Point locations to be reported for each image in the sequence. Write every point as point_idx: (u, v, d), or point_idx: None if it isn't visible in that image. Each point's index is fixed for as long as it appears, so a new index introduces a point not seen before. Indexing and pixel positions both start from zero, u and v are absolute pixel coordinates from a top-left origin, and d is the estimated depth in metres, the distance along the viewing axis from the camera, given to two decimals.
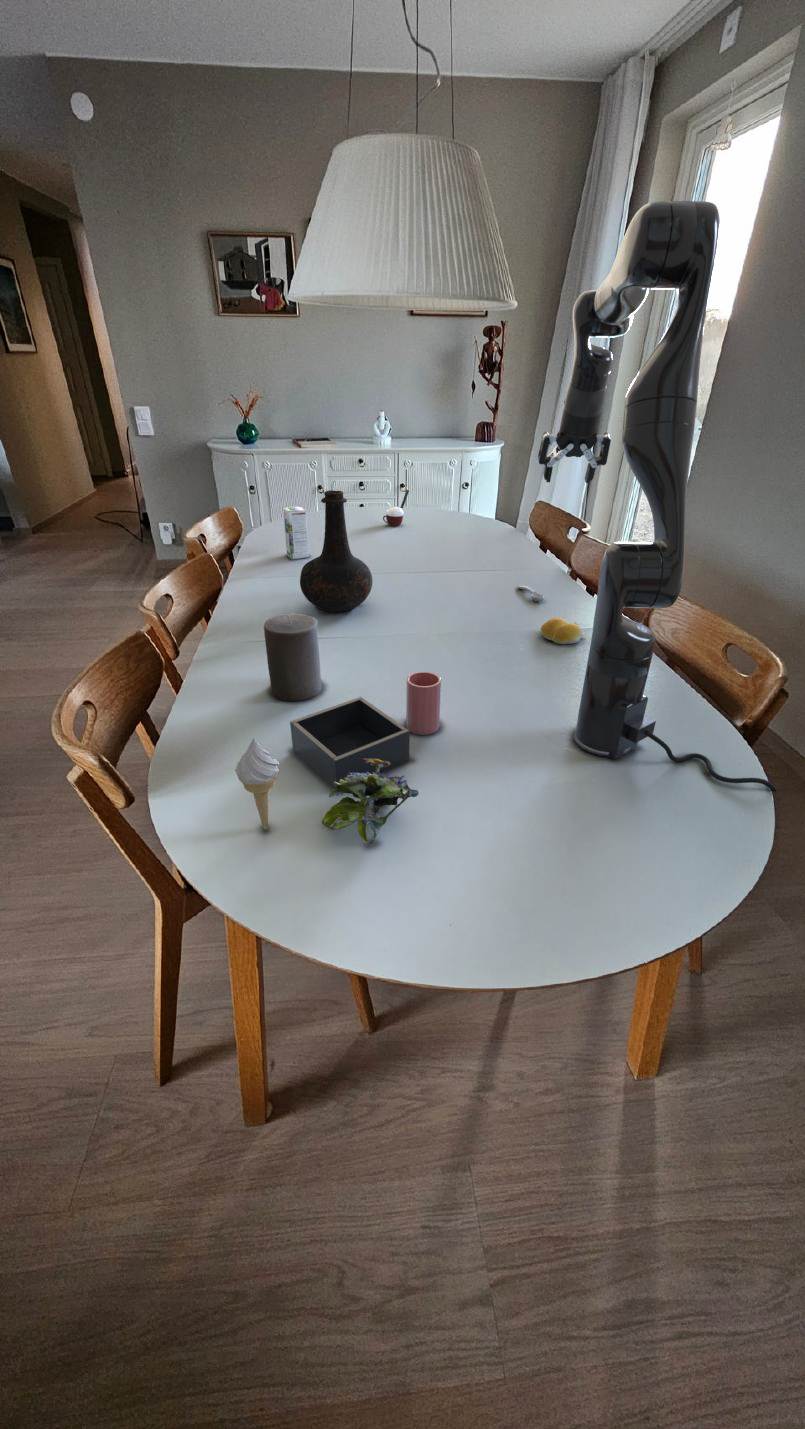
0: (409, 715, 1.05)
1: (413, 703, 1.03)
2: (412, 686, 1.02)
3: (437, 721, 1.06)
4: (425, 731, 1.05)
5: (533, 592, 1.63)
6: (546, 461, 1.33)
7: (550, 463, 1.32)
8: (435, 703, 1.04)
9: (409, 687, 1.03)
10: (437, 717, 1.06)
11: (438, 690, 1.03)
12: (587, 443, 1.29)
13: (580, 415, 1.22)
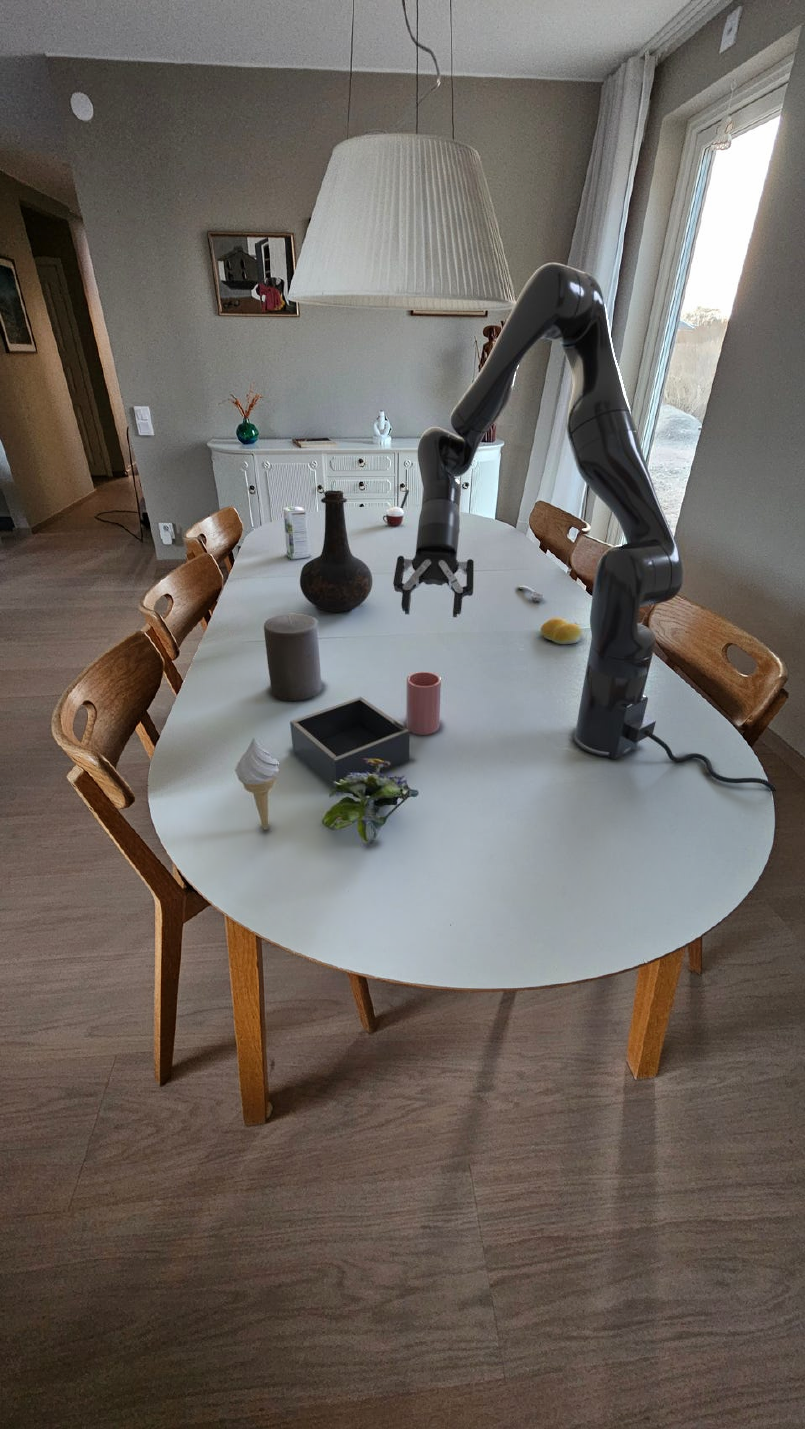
0: (409, 715, 1.05)
1: (413, 703, 1.03)
2: (412, 686, 1.02)
3: (437, 721, 1.06)
4: (425, 731, 1.05)
5: (533, 592, 1.63)
6: (402, 585, 1.11)
7: (406, 585, 1.10)
8: (435, 703, 1.04)
9: (409, 687, 1.03)
10: (437, 717, 1.06)
11: (438, 690, 1.03)
12: (447, 564, 1.11)
13: (432, 520, 1.10)
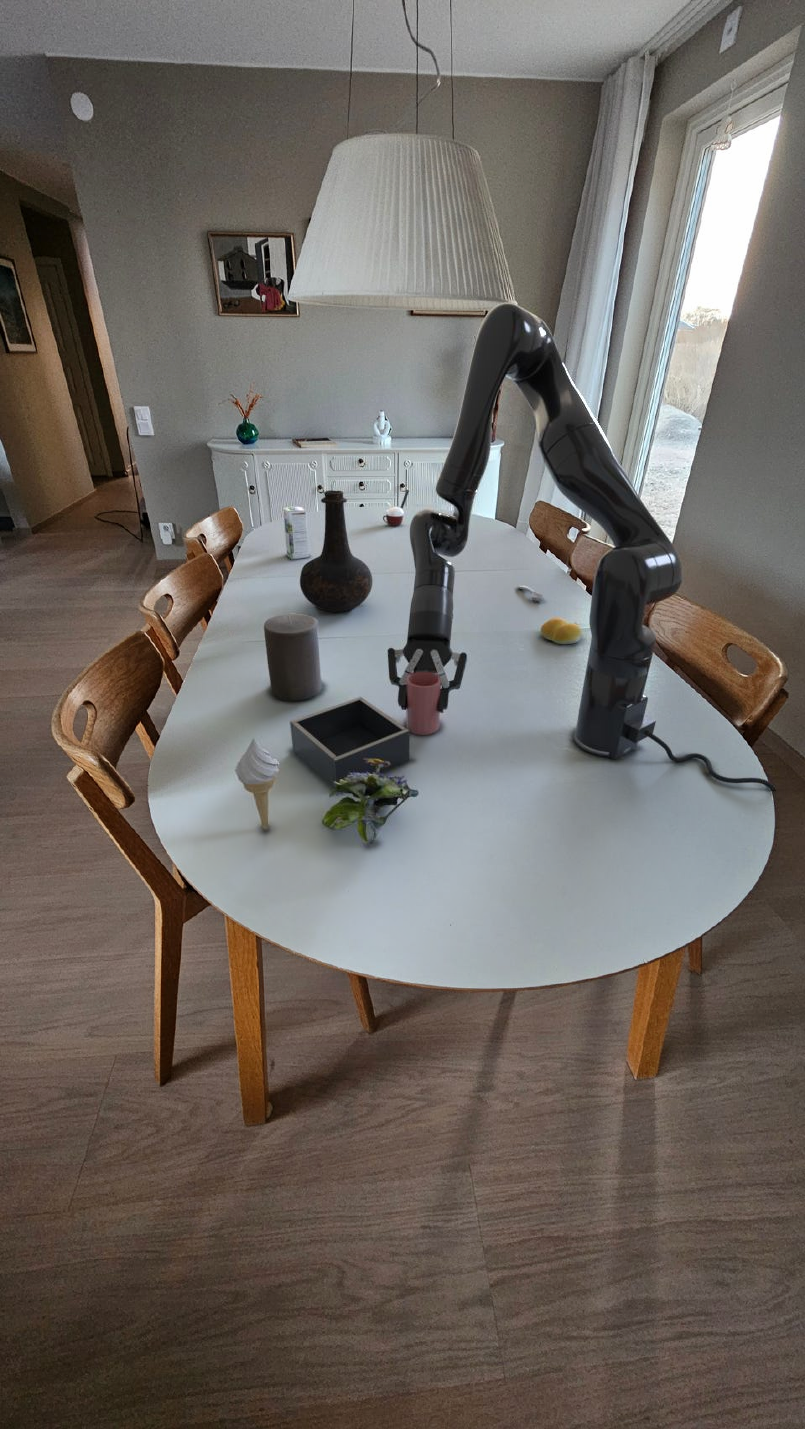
0: (409, 715, 1.05)
1: (413, 703, 1.03)
2: (412, 686, 1.02)
3: (437, 721, 1.06)
4: (425, 731, 1.05)
5: (533, 592, 1.63)
6: (398, 680, 1.06)
7: (403, 679, 1.05)
8: (435, 703, 1.04)
9: (409, 687, 1.03)
10: (437, 717, 1.06)
11: (438, 690, 1.03)
12: (440, 653, 1.06)
13: (424, 608, 1.05)
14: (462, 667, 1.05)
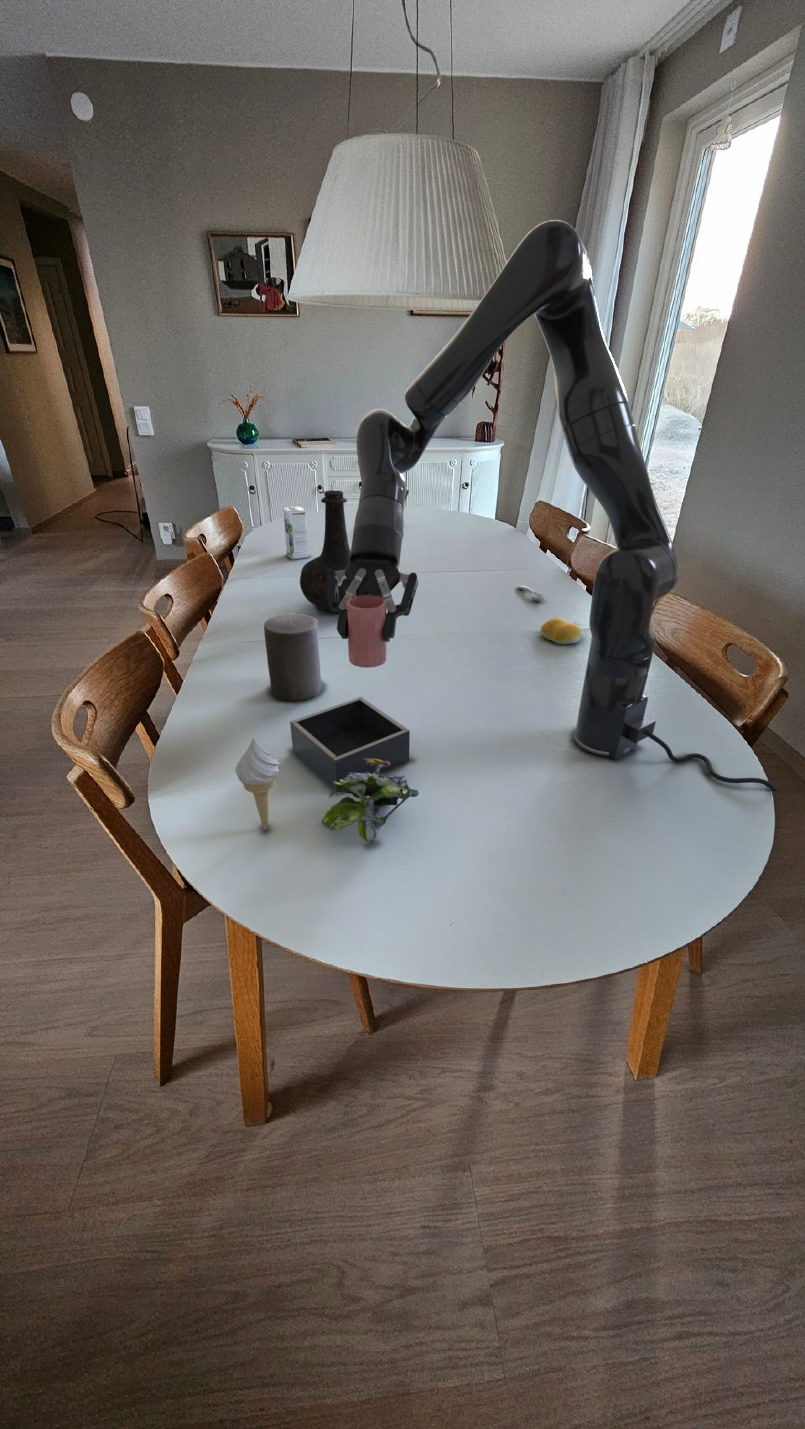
0: (350, 645, 0.92)
1: (354, 629, 0.90)
2: (351, 608, 0.88)
3: (383, 652, 0.92)
4: (369, 663, 0.92)
5: (533, 592, 1.63)
6: (338, 605, 0.92)
7: (343, 603, 0.91)
8: (379, 630, 0.90)
9: (348, 610, 0.89)
10: (383, 647, 0.92)
11: (382, 614, 0.89)
12: (386, 574, 0.92)
13: (368, 522, 0.92)
14: (411, 589, 0.91)
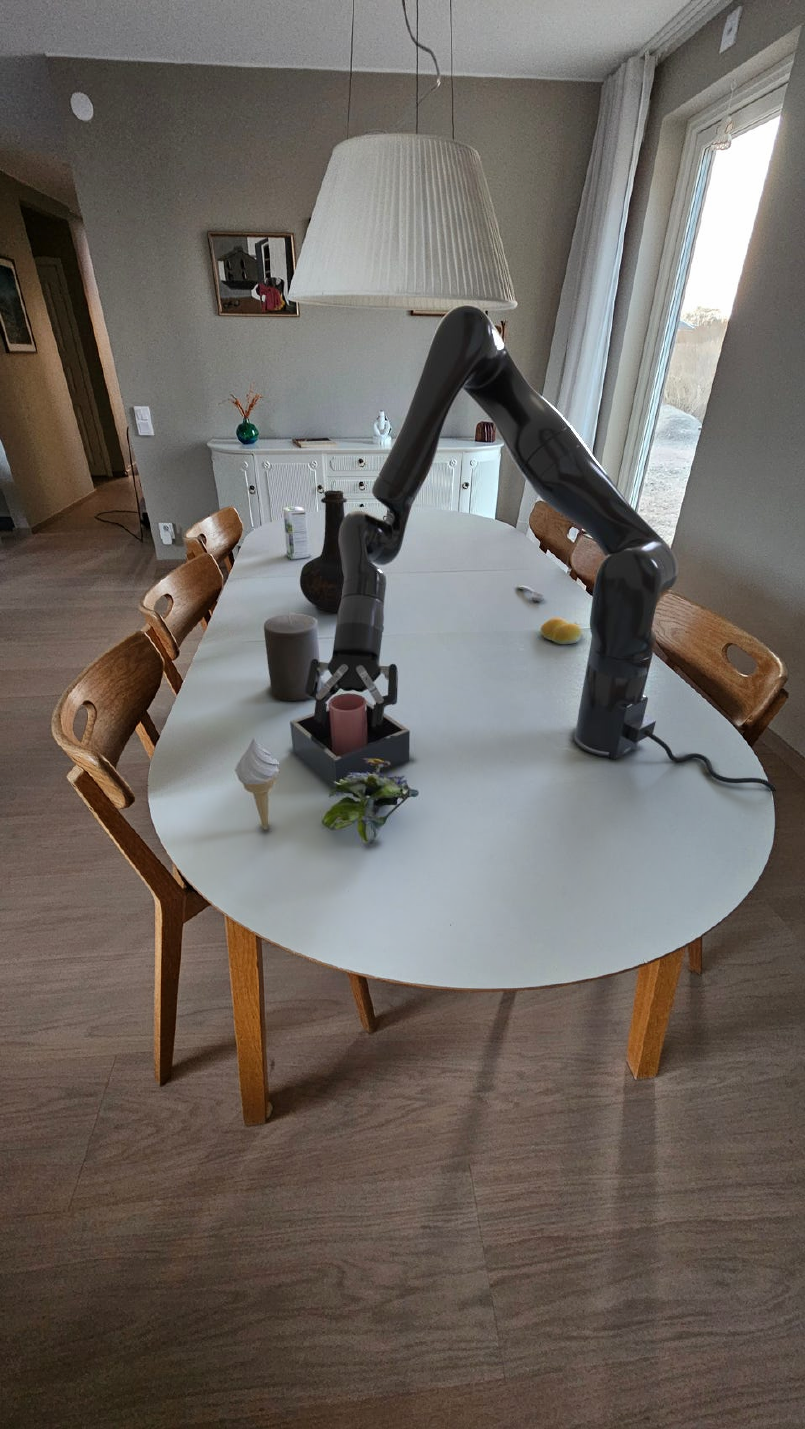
0: (333, 741, 0.97)
1: (336, 728, 0.95)
2: (333, 710, 0.94)
3: None
4: None
5: (533, 592, 1.63)
6: (316, 693, 0.97)
7: (320, 693, 0.97)
8: (360, 728, 0.96)
9: (331, 711, 0.95)
10: (363, 743, 0.98)
11: (362, 714, 0.95)
12: (367, 669, 0.97)
13: (349, 620, 0.97)
14: (394, 680, 0.96)
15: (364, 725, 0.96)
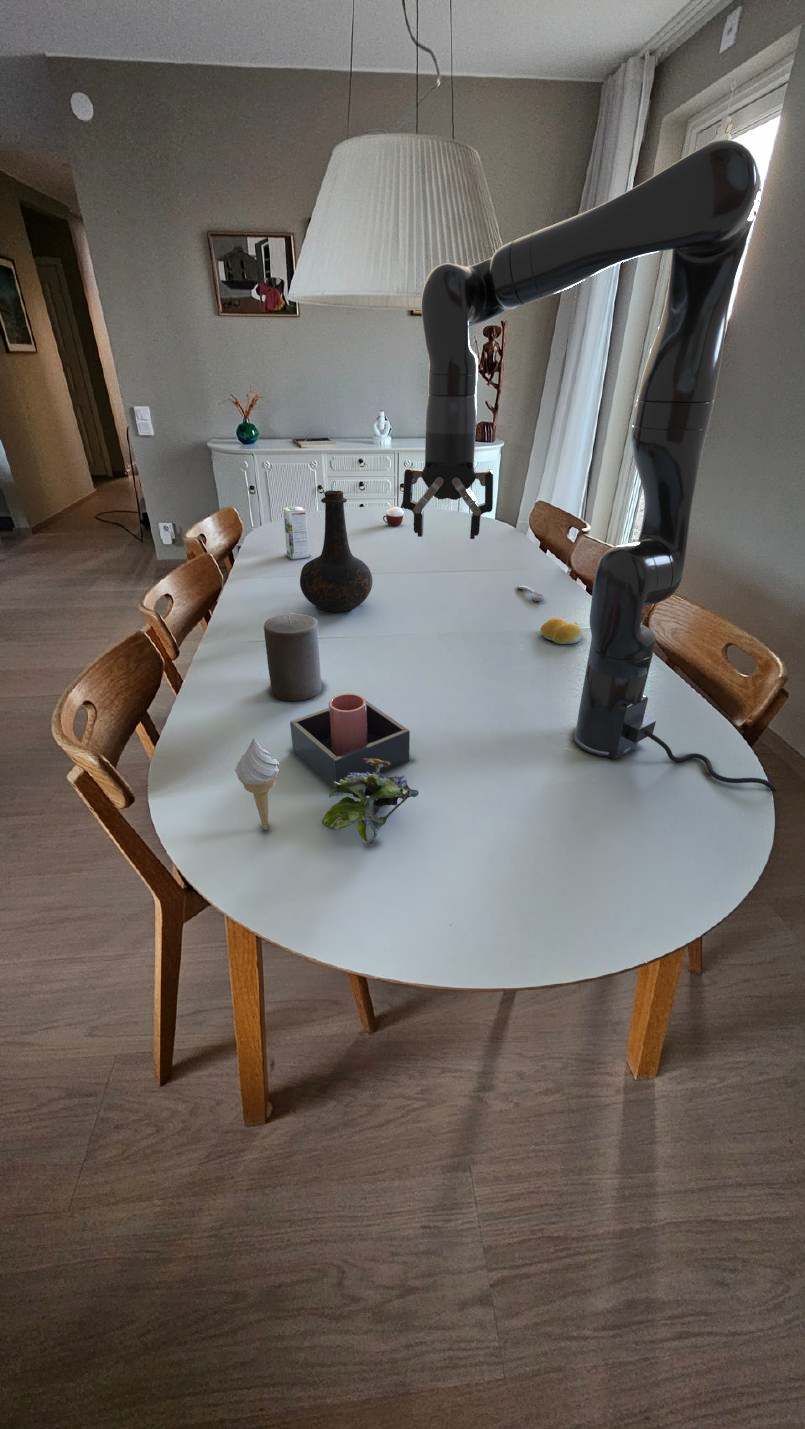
0: (333, 741, 0.97)
1: (336, 728, 0.95)
2: (333, 710, 0.94)
3: None
4: None
5: (533, 592, 1.63)
6: (413, 505, 0.99)
7: (417, 507, 0.99)
8: (360, 728, 0.96)
9: (331, 711, 0.95)
10: (363, 743, 0.98)
11: (362, 714, 0.95)
12: (462, 479, 0.96)
13: (442, 431, 0.90)
14: (491, 490, 0.96)
15: (364, 725, 0.96)
